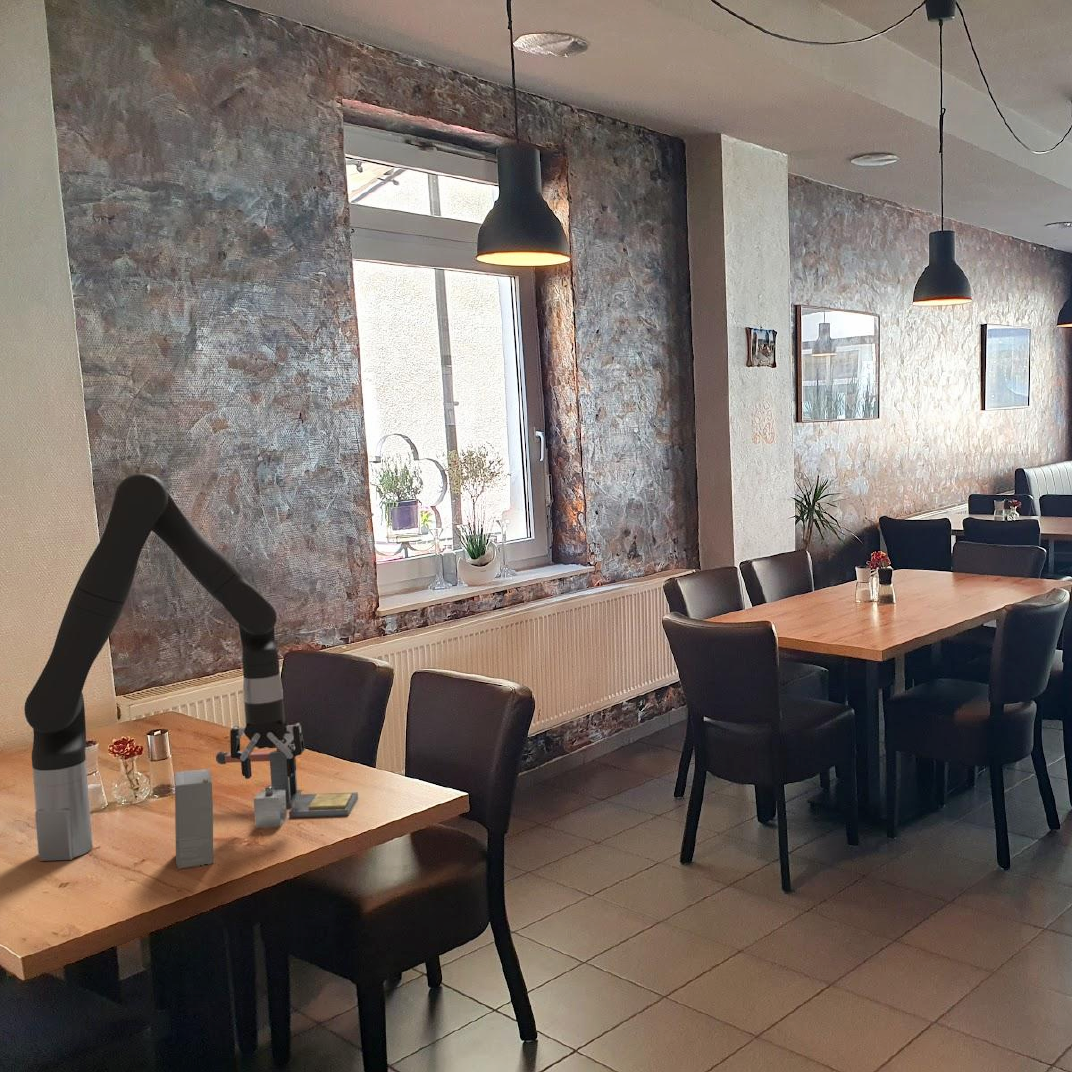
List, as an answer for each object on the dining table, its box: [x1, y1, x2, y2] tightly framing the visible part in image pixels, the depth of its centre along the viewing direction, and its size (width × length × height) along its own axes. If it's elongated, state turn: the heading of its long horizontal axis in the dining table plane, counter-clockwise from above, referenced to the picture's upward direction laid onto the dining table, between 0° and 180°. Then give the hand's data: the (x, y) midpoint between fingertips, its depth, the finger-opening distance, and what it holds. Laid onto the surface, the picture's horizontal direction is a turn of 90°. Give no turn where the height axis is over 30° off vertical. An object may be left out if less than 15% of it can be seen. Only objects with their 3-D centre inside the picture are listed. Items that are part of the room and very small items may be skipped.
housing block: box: [253, 785, 288, 829], centre depth 209 cm, size 5×5×7 cm
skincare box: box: [173, 768, 214, 870], centre depth 191 cm, size 8×7×16 cm
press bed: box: [269, 733, 359, 819], centre depth 219 cm, size 15×18×14 cm
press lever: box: [215, 750, 282, 765], centre depth 222 cm, size 4×16×3 cm, turn 89°
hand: (269, 776), depth 209 cm, fingers open, 8 cm apart
